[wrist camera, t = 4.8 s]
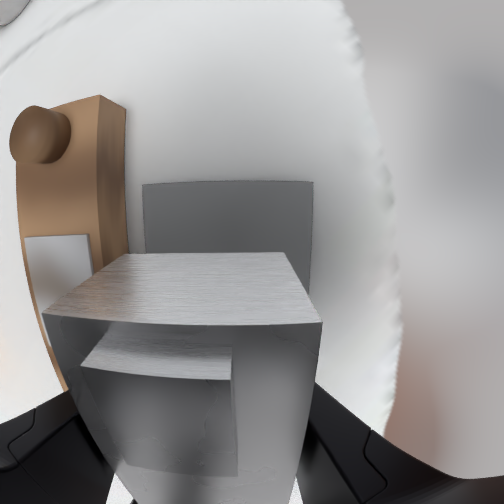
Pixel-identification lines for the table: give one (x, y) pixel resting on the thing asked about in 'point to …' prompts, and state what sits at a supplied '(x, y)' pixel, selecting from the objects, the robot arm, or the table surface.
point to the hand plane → (69, 196)
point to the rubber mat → (231, 219)
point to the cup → (11, 10)
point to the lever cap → (192, 373)
